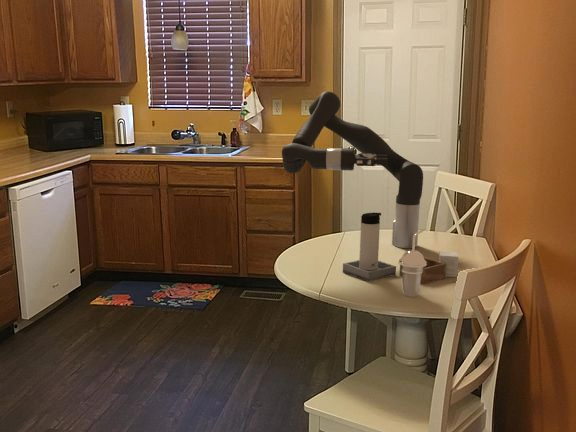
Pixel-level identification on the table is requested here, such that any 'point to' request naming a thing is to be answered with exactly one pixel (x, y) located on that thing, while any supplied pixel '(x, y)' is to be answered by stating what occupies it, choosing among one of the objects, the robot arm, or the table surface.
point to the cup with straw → (412, 269)
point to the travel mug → (369, 241)
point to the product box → (449, 262)
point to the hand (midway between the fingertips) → (388, 160)
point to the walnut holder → (432, 271)
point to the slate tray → (382, 271)
